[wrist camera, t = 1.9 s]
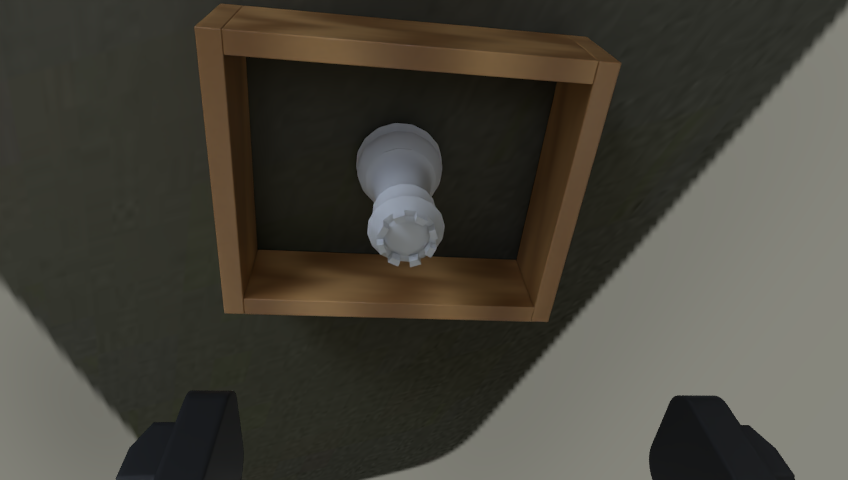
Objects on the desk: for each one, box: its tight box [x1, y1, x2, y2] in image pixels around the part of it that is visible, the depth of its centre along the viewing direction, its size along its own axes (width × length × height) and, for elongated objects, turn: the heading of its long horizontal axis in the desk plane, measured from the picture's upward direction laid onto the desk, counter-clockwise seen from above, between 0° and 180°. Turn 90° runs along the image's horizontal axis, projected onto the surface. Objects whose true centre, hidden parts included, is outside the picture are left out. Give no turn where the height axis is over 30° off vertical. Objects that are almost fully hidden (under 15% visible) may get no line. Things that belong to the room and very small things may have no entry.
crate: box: [194, 4, 621, 322], centre depth 28 cm, size 17×14×4 cm
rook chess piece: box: [356, 123, 445, 267], centre depth 27 cm, size 4×4×8 cm
